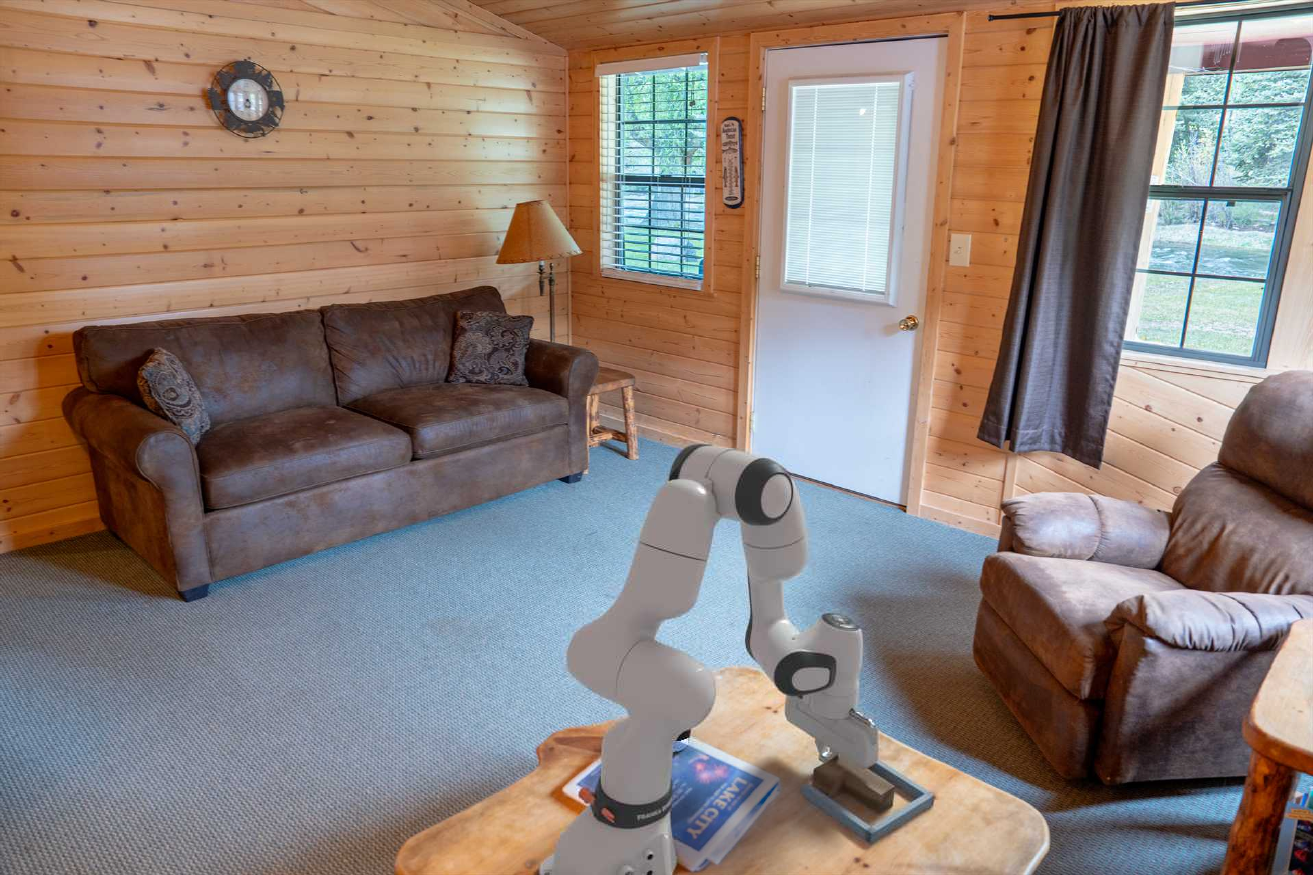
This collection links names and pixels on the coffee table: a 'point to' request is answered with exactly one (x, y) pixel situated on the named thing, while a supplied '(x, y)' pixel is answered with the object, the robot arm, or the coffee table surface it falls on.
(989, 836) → the coffee table surface
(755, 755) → the coffee table surface
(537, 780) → the coffee table surface
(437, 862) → the coffee table surface
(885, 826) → the slate bay
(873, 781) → the walnut T block
